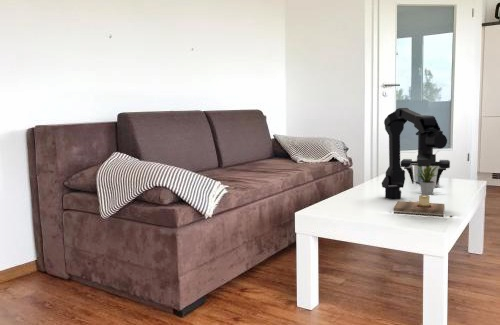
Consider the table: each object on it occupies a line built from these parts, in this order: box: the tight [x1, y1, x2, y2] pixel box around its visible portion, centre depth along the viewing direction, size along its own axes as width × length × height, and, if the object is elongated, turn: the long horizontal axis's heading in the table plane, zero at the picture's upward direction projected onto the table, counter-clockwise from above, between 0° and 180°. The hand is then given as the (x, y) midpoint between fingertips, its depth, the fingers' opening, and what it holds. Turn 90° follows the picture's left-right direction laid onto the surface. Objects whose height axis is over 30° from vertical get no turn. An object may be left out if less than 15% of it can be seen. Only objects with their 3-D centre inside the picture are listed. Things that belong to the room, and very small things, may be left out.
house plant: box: [417, 165, 443, 196], centre depth 227 cm, size 14×14×16 cm
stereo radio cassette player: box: [413, 151, 440, 188], centre depth 254 cm, size 21×8×20 cm, turn 178°
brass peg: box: [418, 194, 431, 208], centre depth 191 cm, size 4×4×7 cm
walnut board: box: [393, 200, 445, 218], centre depth 197 cm, size 19×23×3 cm
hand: (424, 184), depth 190 cm, fingers open, 9 cm apart
